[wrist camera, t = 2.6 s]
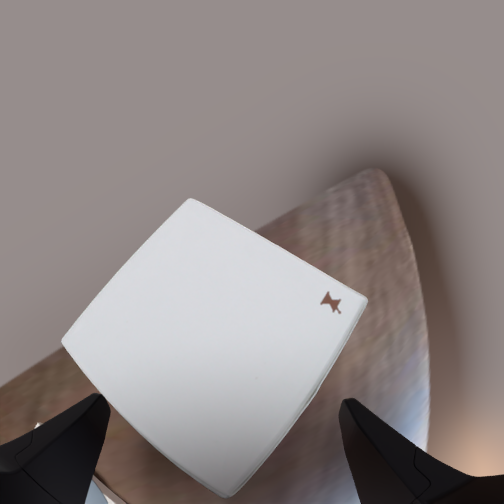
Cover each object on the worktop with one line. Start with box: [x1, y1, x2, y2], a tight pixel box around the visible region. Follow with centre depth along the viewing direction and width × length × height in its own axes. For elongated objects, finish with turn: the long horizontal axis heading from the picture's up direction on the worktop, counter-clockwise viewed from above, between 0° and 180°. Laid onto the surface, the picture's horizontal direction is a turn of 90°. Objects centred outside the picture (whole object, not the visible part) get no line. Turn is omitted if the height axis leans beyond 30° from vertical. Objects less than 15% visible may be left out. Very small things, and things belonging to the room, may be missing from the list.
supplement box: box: [61, 198, 368, 498], centre depth 13 cm, size 7×7×13 cm
